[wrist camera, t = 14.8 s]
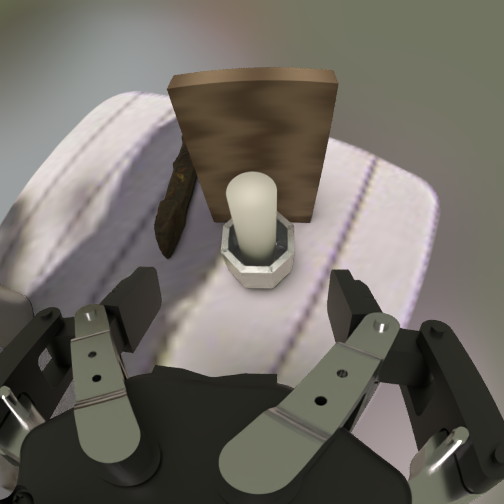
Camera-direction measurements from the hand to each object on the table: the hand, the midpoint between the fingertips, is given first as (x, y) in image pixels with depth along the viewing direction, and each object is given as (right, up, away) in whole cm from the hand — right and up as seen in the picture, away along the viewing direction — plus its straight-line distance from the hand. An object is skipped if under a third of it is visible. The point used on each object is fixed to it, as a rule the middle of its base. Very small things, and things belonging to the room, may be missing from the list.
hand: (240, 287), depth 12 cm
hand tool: (-8, +9, +25) cm, 28 cm away
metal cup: (+1, +2, +19) cm, 19 cm away
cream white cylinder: (+1, +1, +18) cm, 18 cm away
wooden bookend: (+2, +8, +23) cm, 25 cm away
